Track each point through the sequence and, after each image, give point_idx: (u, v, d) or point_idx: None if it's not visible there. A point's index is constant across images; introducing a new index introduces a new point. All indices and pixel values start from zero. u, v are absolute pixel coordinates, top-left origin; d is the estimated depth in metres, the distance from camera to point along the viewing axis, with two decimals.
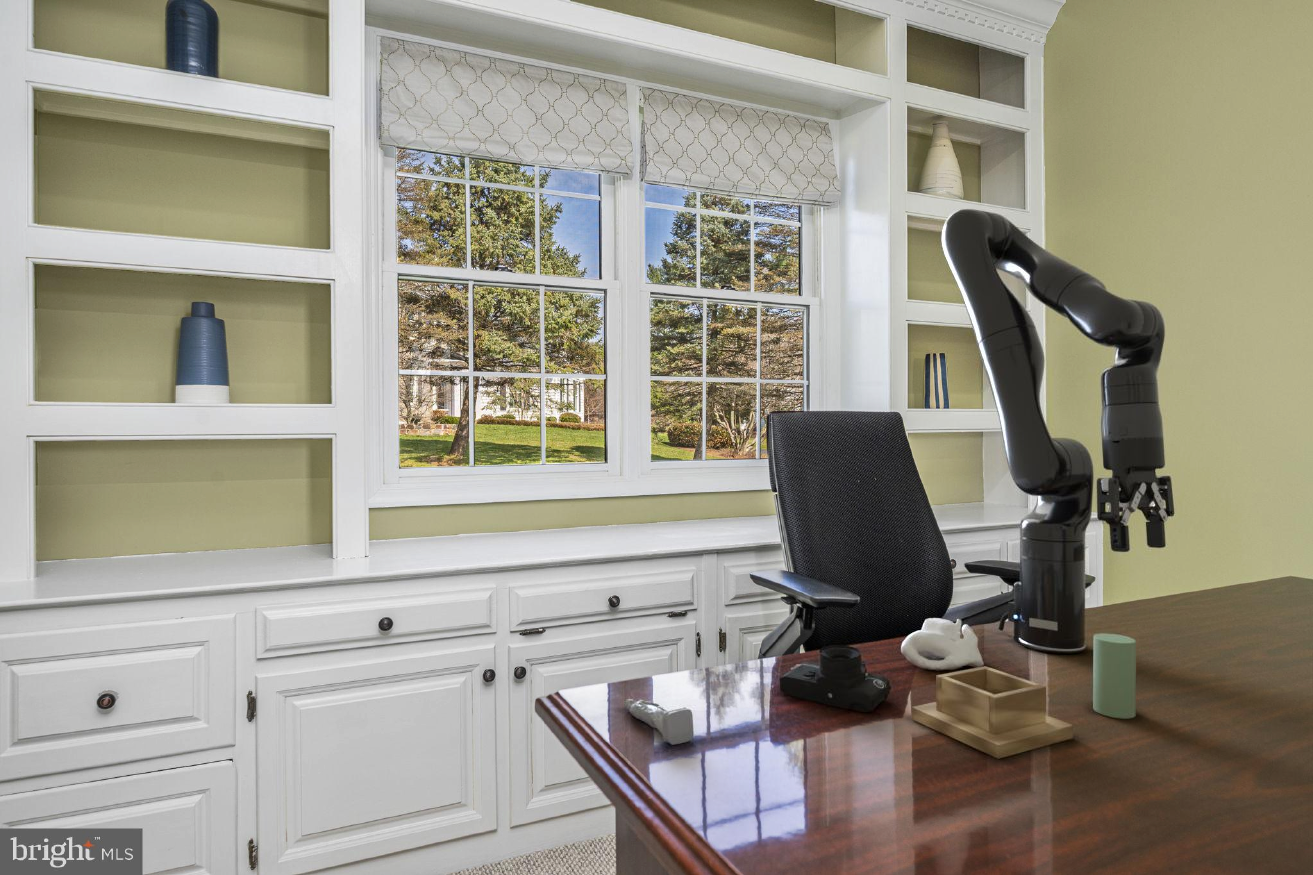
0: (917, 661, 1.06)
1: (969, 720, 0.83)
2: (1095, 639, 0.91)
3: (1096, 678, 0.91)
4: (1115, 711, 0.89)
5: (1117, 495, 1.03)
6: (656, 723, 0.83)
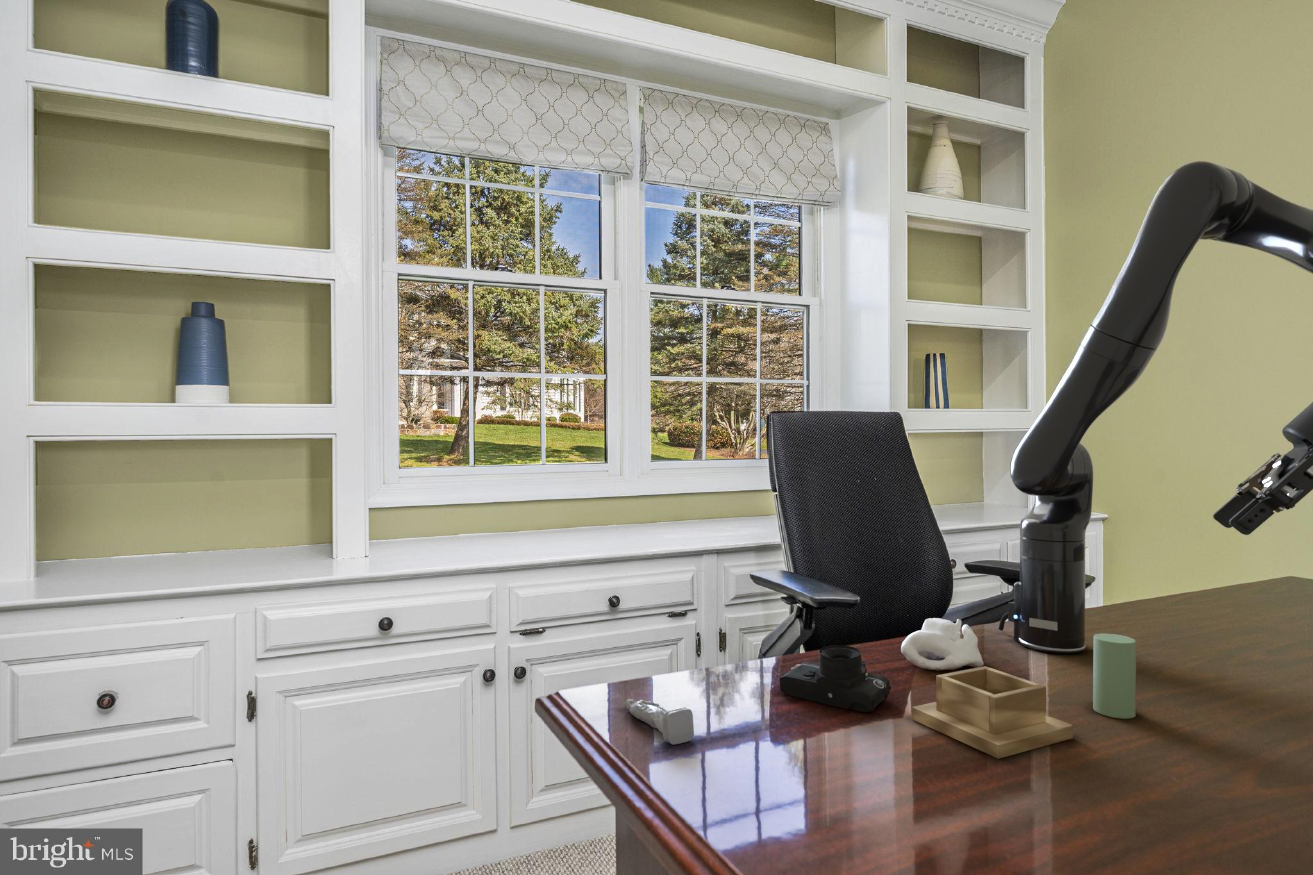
0: (917, 661, 1.06)
1: (969, 720, 0.83)
2: (1095, 639, 0.91)
3: (1096, 678, 0.91)
4: (1115, 711, 0.89)
5: None
6: (656, 723, 0.83)
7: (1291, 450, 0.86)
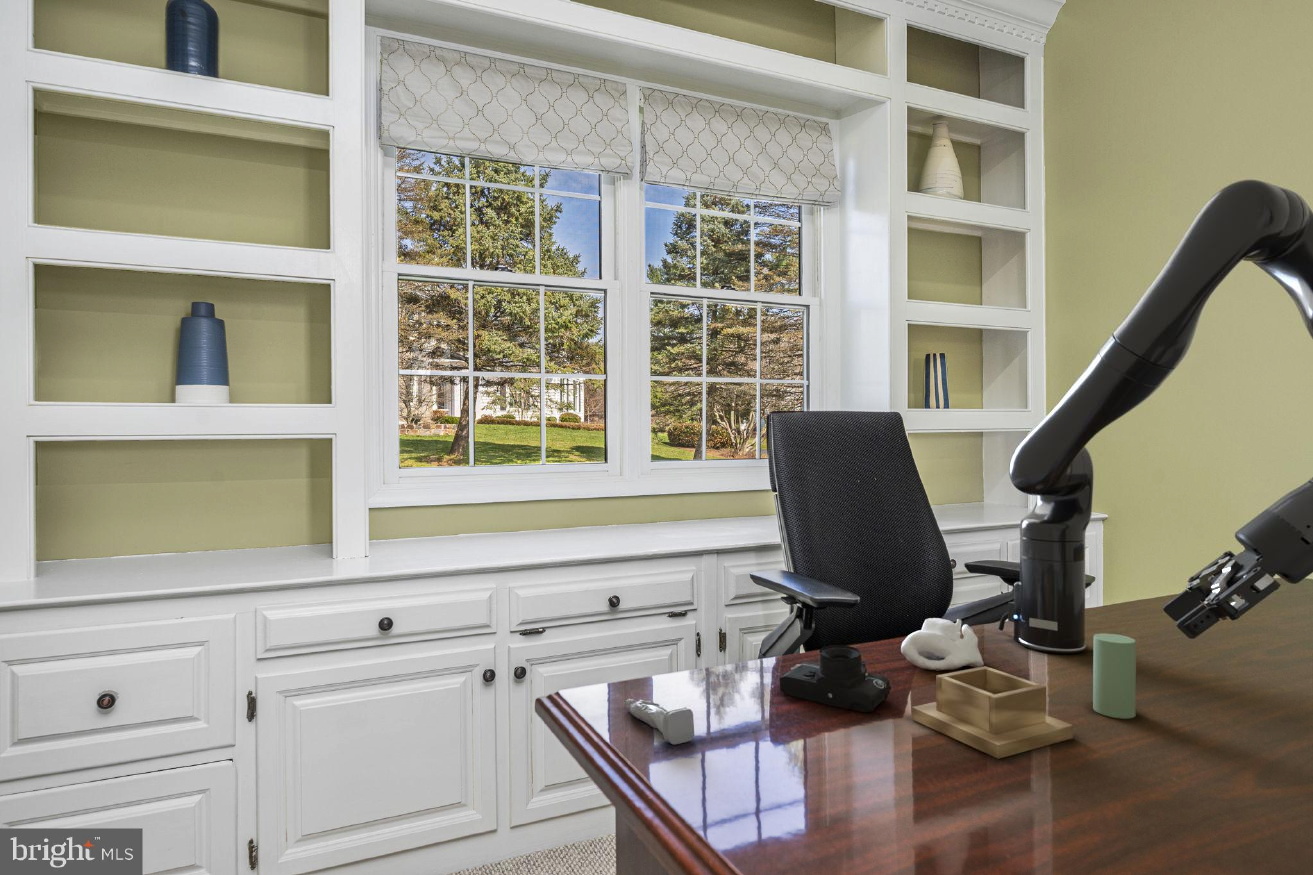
0: (917, 661, 1.06)
1: (969, 720, 0.83)
2: (1095, 639, 0.91)
3: (1096, 678, 0.91)
4: (1115, 711, 0.89)
5: None
6: (657, 723, 0.83)
7: (1242, 552, 0.87)
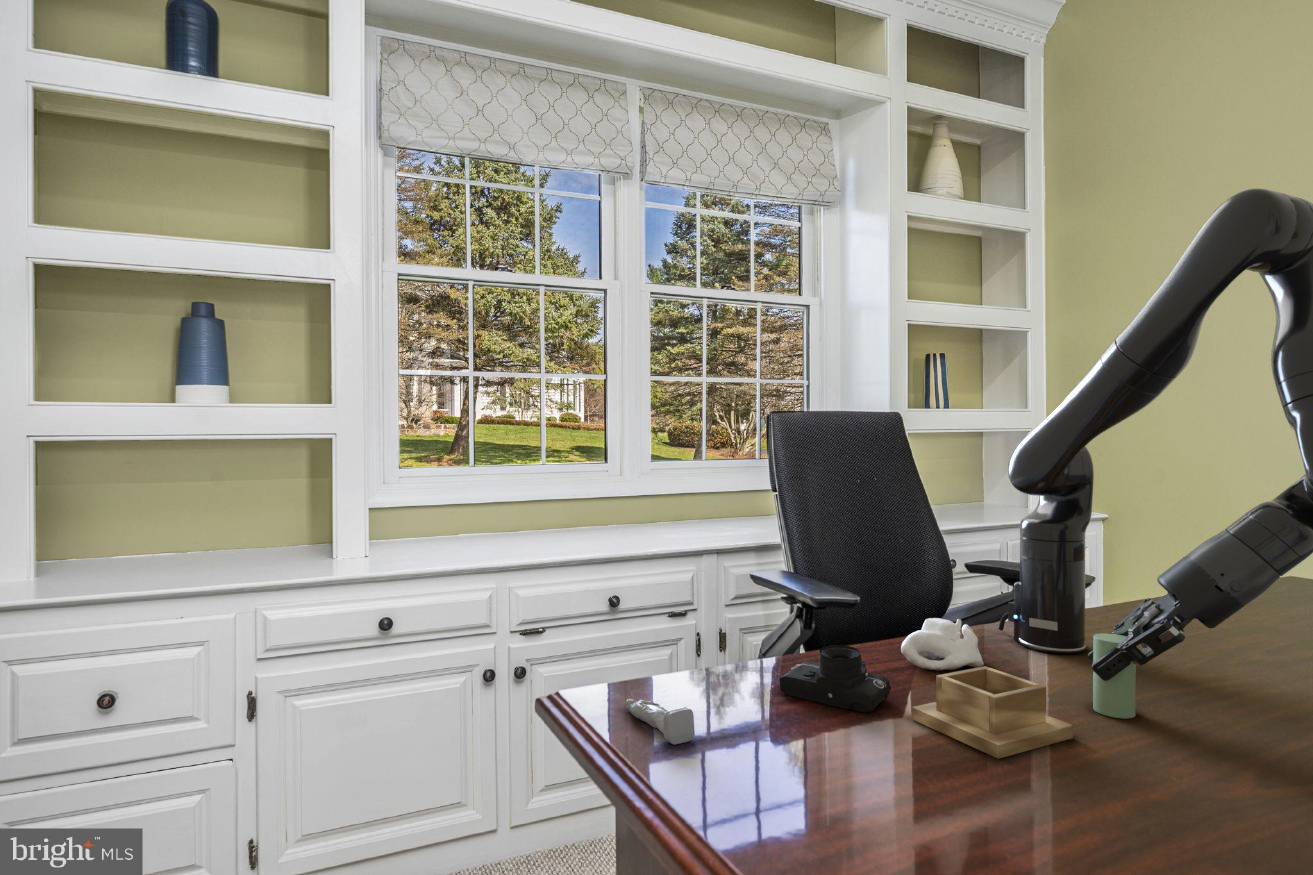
0: (917, 661, 1.06)
1: (969, 720, 0.83)
2: (1095, 639, 0.91)
3: (1096, 678, 0.91)
4: (1115, 711, 0.89)
5: None
6: (657, 723, 0.83)
7: (1165, 596, 0.90)
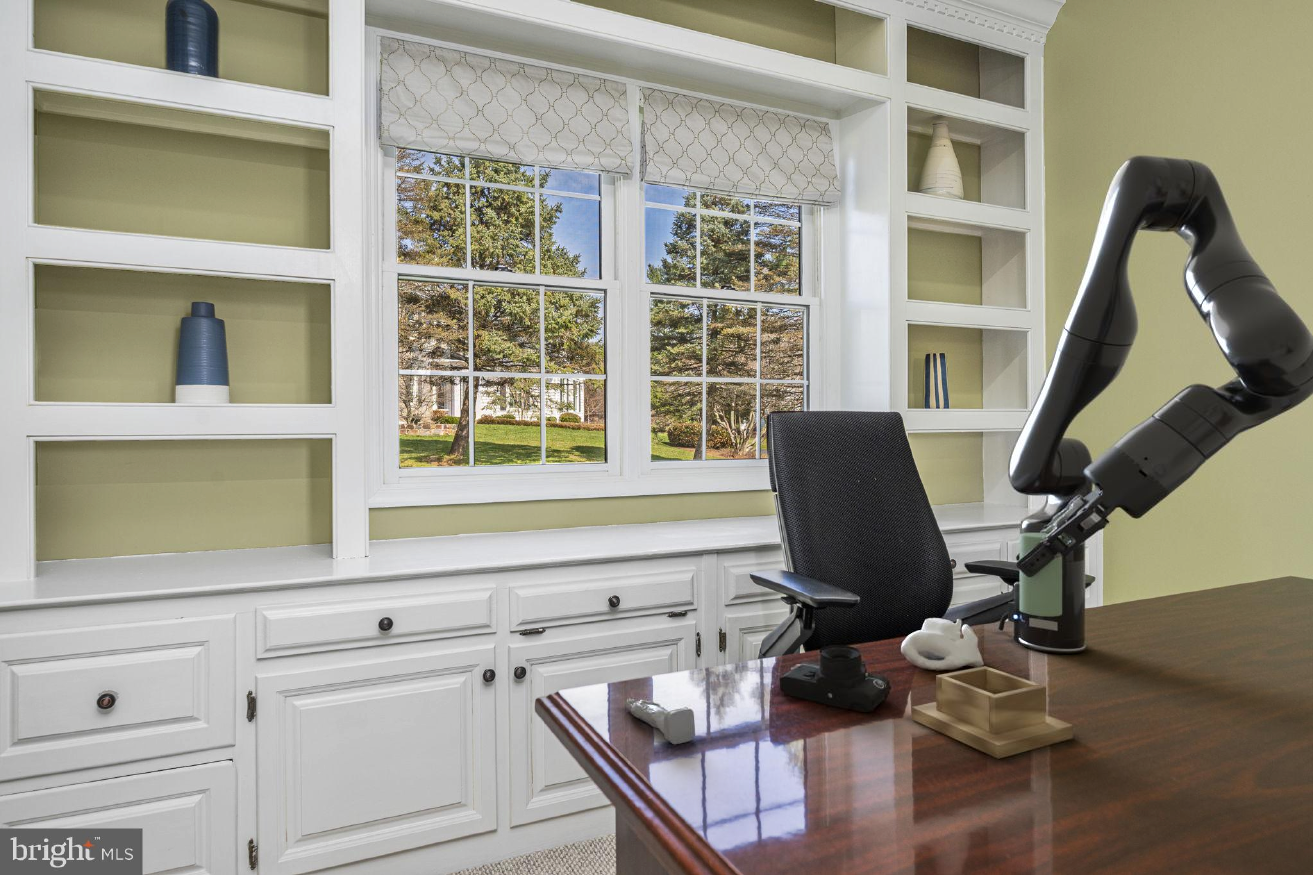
0: (917, 661, 1.06)
1: (969, 720, 0.83)
2: (1021, 536, 0.87)
3: (1022, 577, 0.87)
4: (1040, 609, 0.85)
5: None
6: (657, 723, 0.83)
7: (1093, 491, 0.87)
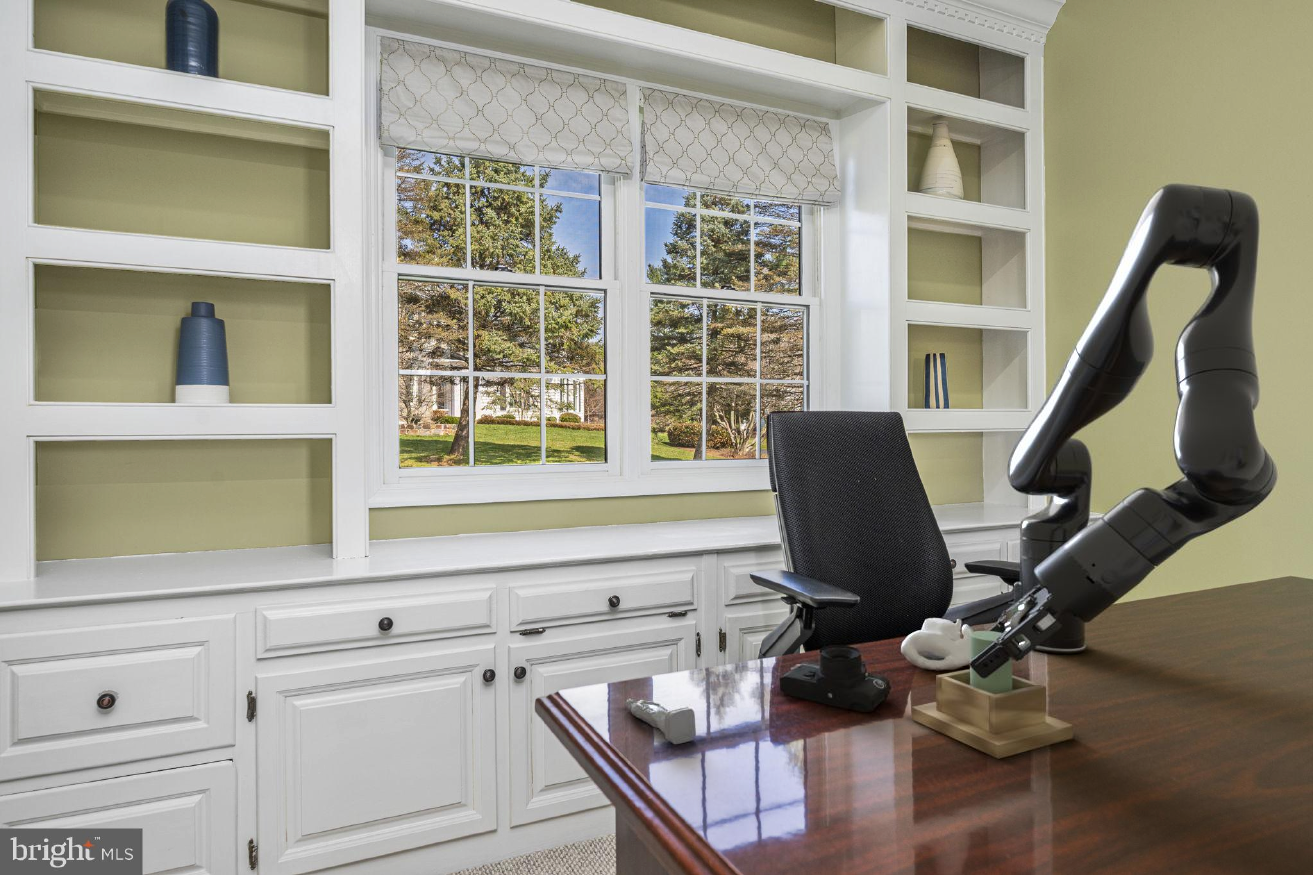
0: (917, 661, 1.06)
1: (969, 720, 0.83)
2: (971, 637, 0.85)
3: (972, 678, 0.85)
4: None
5: None
6: (658, 723, 0.83)
7: (1044, 588, 0.85)
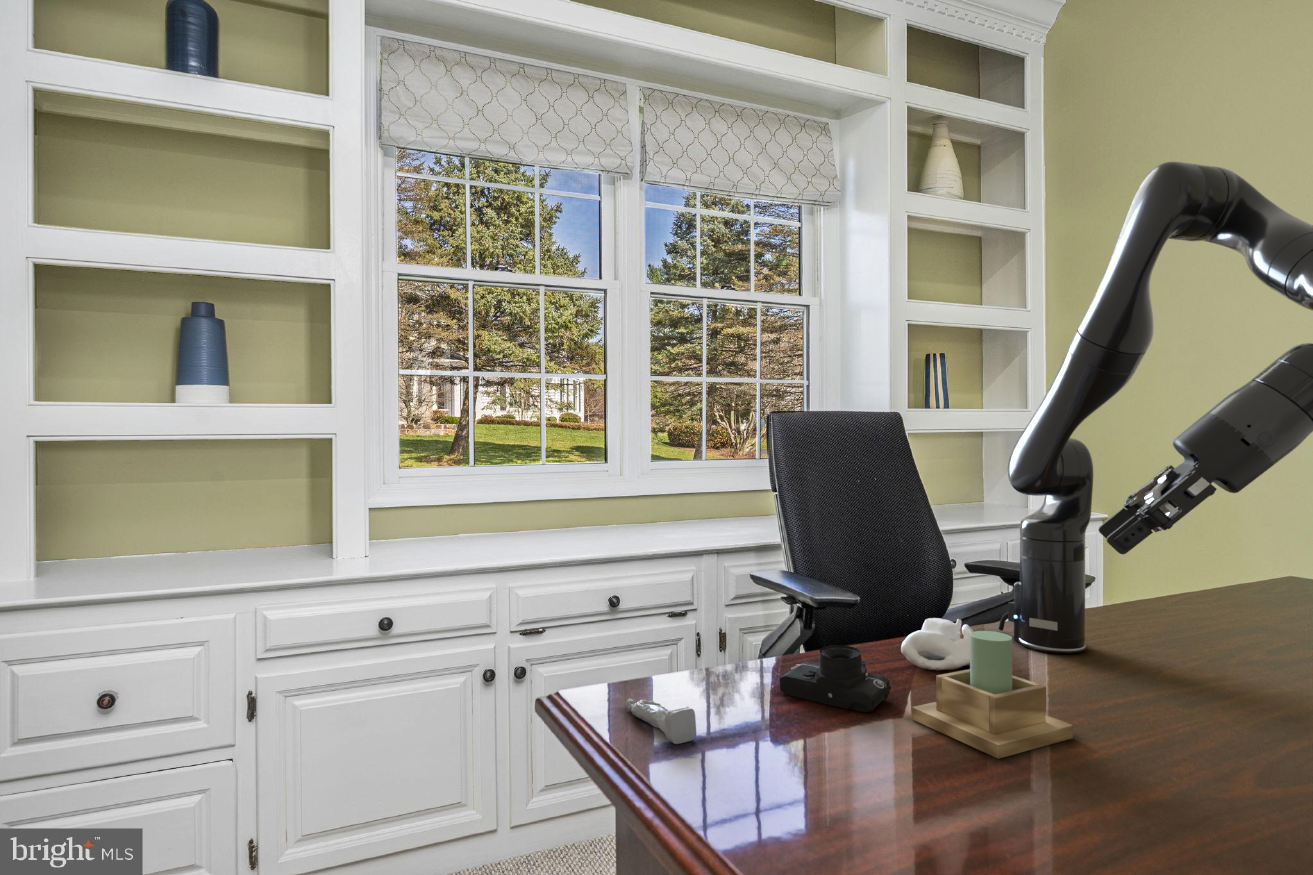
0: (917, 661, 1.06)
1: (969, 720, 0.83)
2: (971, 637, 0.85)
3: (972, 678, 0.85)
4: None
5: None
6: (658, 723, 0.83)
7: None
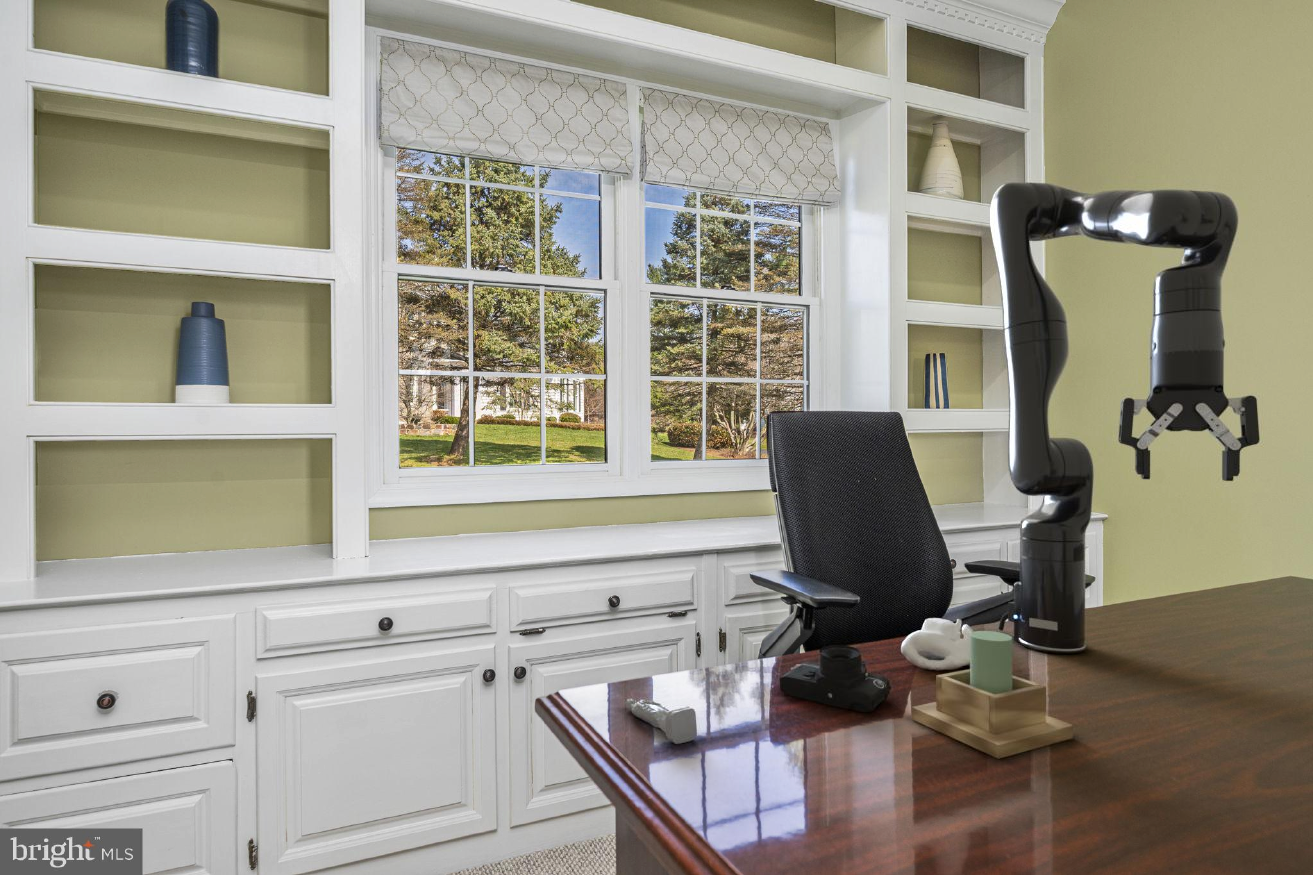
0: (917, 661, 1.06)
1: (969, 720, 0.83)
2: (971, 637, 0.85)
3: (972, 678, 0.85)
4: None
5: (1129, 417, 0.95)
6: (659, 722, 0.83)
7: None
